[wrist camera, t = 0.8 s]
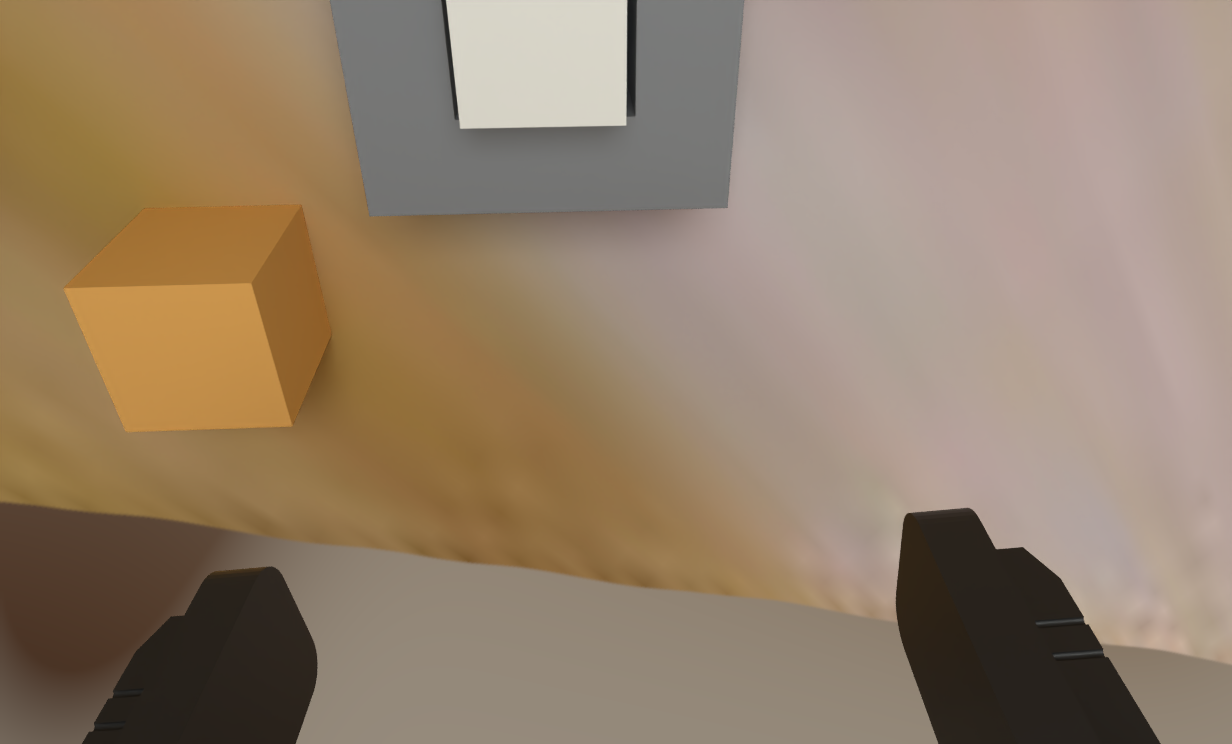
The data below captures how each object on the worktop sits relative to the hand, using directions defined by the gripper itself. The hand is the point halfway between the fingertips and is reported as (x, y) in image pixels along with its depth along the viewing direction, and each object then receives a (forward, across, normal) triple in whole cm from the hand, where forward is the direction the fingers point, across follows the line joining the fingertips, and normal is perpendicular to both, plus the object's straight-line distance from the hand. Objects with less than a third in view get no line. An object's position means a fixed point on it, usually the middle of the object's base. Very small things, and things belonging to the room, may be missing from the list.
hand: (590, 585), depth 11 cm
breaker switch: (+17, +1, -4) cm, 18 cm away
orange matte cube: (+21, +14, +4) cm, 26 cm away
